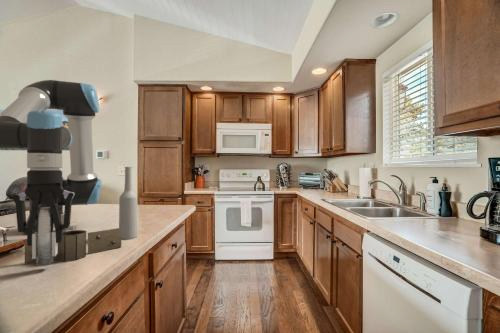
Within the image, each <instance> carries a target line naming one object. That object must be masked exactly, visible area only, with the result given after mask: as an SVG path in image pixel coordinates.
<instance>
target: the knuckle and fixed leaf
mask: <svg viewBox="0 0 500 333" xmlns="http://www.w3.org/2000/svg"><path fill="white" fill-rule="evenodd" d="M86 256H87V230H83V229H80V230H79V229H76V230H67V232H62V241H61V242H60V243H58V253H57V255H56V256H54V261H59V262H72V261H73V262H74V261H77V260H80V259H84V258H85V257H86ZM31 263H37V258H36V259H32V246H28V245H27V239H24V264H25V265H26V264H31Z"/></svg>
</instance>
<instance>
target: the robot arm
mask: <svg viewBox="0 0 500 333" xmlns="http://www.w3.org/2000/svg"><path fill="white" fill-rule="evenodd" d="M99 103H100V102H99V98H98V93H97V90H96V88H95V86H93V85H92V84H88V83H82V82H72V81H65V80H64V81H63V80H56V79H47V80H46V79H45V80H40V81H36V82H33V83H31V84H28V85H26V86H24V87H23V88H22V89H21V90H19V93H18V97H17V98H16V99H15V100H14V101H13V102H12V103H10V104H9V105H8V106H7V107H6V108H5V109H4V110H2V112H0V149H23V150H24V149H26V168H28V169H29V170H27V171H26V187H25V189H24V191H23V192H20V193H15V194H13V195H12V196H11V199H12V201H13V202H14V204H15V213H16V224H17V225H16V226H17V227H16V228H17V232H19V233H23V234H24V235H26V240H27V245H28V246H32V259H36V258H37V209H39V208H44V207H50V209H51V213H52V217H53V222H54V226H55V230H54V231H53V232H52V256H56V255H57V253H58V243H60V242H61V241H62V230H63V229H65V228H68V227H69V226H70V224H71V218H72V216H71V215H72V206H83V205H84V206H87V205H95V204H97V203H98V202H99V200H100V196H101V195H100V194H101V190H102V189H101V188H102V179H101V178H98V174H96V173H95V172H94V154H93V126H92V122H93V121H92V120H93V119H94V118H96V114H97V113H99V112H100V104H99ZM47 110H59V111H62V115H63V116H64V117H65V118H67V125H68V126H67V127H68V128H67V127H65V126H63V125H64V123H63V117H62V115H61V114H60V113H57V112H54V111H53V112H52V111H47ZM68 147H69V160H70V162H69V163H70V164H69V165H70V173H69V174H68V175H67V176H66V179H64V177H63V171H62V170H60V169H62V168H63V150H66V149H68ZM26 197H27V198H29V199H28V200H29V201H28V202H29V203H28V204H29V205H28V207H29V211H28V212H29V213H28V214H29V215H28V216H26V215H27V214H26V202H25V200H26ZM63 207H64V208H63ZM63 209H64V210H63ZM61 214H64V224H62V223H61Z"/></svg>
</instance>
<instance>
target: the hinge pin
mask: <svg viewBox="0 0 500 333" xmlns="http://www.w3.org/2000/svg"><path fill="white" fill-rule="evenodd" d="M53 231H54V222H53V217H52V213H51V209H50V207H44V208H39V209H37V262H36V266H37V267H45V266H49V265H51V264H53V263H54V261H55V260H54V256H52V232H53Z"/></svg>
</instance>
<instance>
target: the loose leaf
mask: <svg viewBox="0 0 500 333" xmlns="http://www.w3.org/2000/svg"><path fill="white" fill-rule="evenodd" d="M118 248H122V239H121V228H119V227H118V228H111V229H104V230H99V231H98V230H97V231H92V232H87V254H93V253H98V252H104V251H108V250H113V249H118Z"/></svg>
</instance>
